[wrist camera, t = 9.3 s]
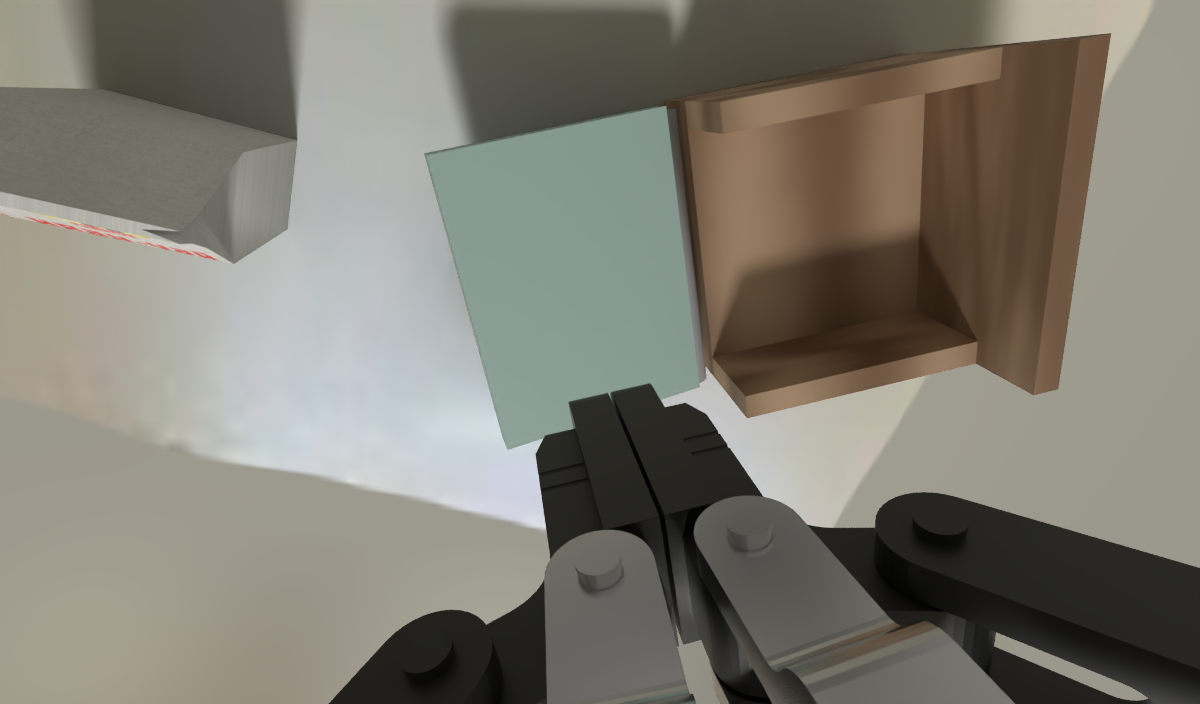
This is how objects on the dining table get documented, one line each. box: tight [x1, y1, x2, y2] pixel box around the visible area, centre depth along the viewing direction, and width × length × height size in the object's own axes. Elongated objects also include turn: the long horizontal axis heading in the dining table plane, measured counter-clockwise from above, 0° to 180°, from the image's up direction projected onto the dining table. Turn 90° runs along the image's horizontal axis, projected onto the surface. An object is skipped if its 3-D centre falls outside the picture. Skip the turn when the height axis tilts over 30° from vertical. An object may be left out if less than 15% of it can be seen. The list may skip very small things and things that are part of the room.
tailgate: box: [424, 106, 706, 449], centre depth 25 cm, size 1×12×10 cm
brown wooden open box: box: [665, 33, 1111, 418], centre depth 25 cm, size 11×12×10 cm
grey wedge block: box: [0, 87, 297, 264], centre depth 20 cm, size 4×7×10 cm, turn 74°
